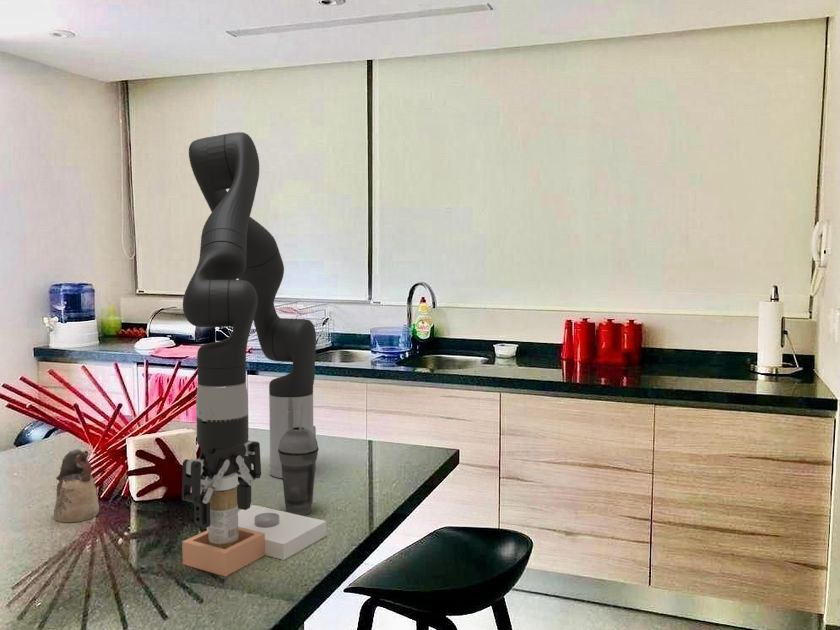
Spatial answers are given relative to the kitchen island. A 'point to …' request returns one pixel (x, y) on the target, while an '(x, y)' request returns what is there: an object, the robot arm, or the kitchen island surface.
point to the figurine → (76, 489)
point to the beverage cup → (298, 467)
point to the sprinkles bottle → (224, 513)
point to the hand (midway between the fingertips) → (224, 517)
